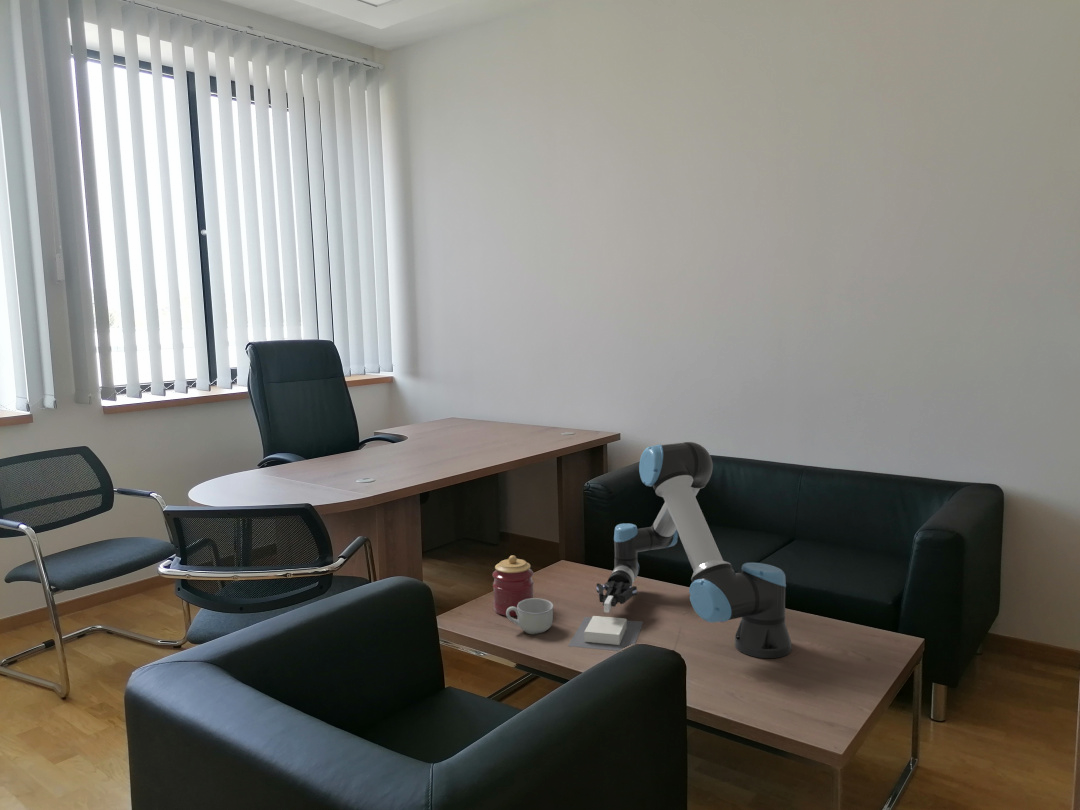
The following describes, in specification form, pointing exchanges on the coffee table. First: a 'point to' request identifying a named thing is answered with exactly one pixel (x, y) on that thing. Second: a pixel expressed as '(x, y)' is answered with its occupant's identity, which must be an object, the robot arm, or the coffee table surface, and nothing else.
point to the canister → (511, 584)
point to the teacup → (533, 615)
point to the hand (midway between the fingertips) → (606, 607)
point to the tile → (605, 630)
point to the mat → (627, 640)
